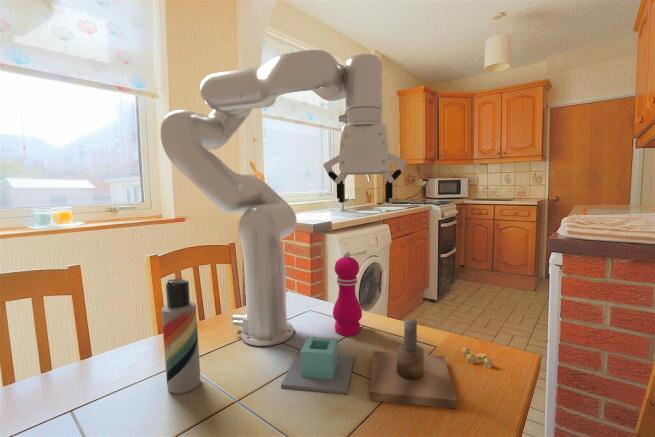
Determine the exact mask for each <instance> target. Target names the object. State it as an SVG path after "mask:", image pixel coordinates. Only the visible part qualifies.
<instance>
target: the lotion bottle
mask: <svg viewBox="0 0 655 437" xmlns="http://www.w3.org/2000/svg"><path fill="white" fill-rule="evenodd" d="M165 294H166V304H165V305H164V306H163V307H162V308H161V321H162V322H161V324H162V336H163V338H162V339H163V349H164V363H165V375H166V387H167V390H168V391H169V392H170V393H172V394H176V395H177V394H178V395H179V394H185V393H188V392H191V391H192V390H194V389H196V388H197V387H198V386H199V385H200V383H201V366H200V365H201V364H200V350H199V347H200V346H199V332H198V318H197V305H196V302H194V301H191V296H190V295H191V294H190V282H189V280H187V279H184V278H171V279H168V280H167V281H166V283H165Z"/></svg>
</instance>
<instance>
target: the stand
mask: <svg viewBox="0 0 655 437" xmlns="http://www.w3.org/2000/svg"><path fill="white" fill-rule="evenodd" d="M403 323H404V324H403V325H404V327H403V328H404V331H403V332H404V335H403V336H404V338H403V340H404V341H403V343H400V344H398V345H397V346H396V352H393V351H383V350H382V351H381V350H373V353H372V362H371V363H372V366H371V375H370V376H371V377H370V384H369V400H370V401H375V402H385V403H395V404H402V405H403V404H404V405H405V404H406V405H412V406H413V405H415V406H424V407H433V408H434V407H435V408H445V409H453V410H454V409H457V407H458V398H457V396H456V393H455V390H454V386H453V382H452V380H451V377H450V372H449V369H448V367H447V366H448V365H447V362H446V359H445V356H444V355H435V354H424V353H425V350H424V348H423V347H422V346H420V345H418V344H417V339H418V338H417V335H418V333H417V332H418V330H417V328H418V327H417V326H418V321H417V320H415V319H411V318H409V319H408V318H407V319H405V320H404V321H403Z"/></svg>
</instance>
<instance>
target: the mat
mask: <svg viewBox="0 0 655 437" xmlns="http://www.w3.org/2000/svg"><path fill="white" fill-rule="evenodd" d="M354 361H355V355H350V354H349V355H347V354H338V363H337V366H336V370H335V373H334V377H333V380H332V379H322V378H311V377H301V351H297V354H296V356H295V358H294V360H293V361H292V363H291V365H290V367H289V369H288V371H287V372H286V374H285V376H284V378H283V380H282V382H281V383H280V388H281V389H291V390H292V389H293V390H302V391H311V392H313V391H314V392H321V393H323V392H324V393H330V394H331V393H333V394H342V395H343V394H344V395H348V391H349V386H350V381H351V376H352V372H353V365H354Z"/></svg>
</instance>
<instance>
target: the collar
mask: <svg viewBox="0 0 655 437" xmlns="http://www.w3.org/2000/svg"><path fill="white" fill-rule="evenodd" d="M306 338H307V339H306V340H305V341H304V344H303V346H302V348H301V350H300V352H301V377H311V378H322V379H332V380H333V377H334V373H335V370H336V366H337V363H338V355H339V354H338V352H339V351H338V349H339V348H338V338H334V337H332V338H331V337H320V336H319V337H318V336H317V337H316V336H307V337H306Z"/></svg>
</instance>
